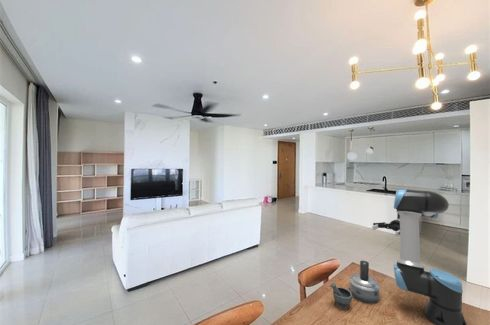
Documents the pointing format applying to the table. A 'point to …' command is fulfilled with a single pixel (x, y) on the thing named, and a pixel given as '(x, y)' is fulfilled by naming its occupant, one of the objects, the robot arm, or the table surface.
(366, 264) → the steel lid
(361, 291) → the cooker pot
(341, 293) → the mortar and pestle
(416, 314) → the table surface
